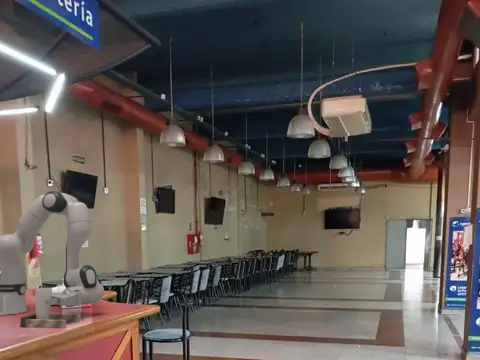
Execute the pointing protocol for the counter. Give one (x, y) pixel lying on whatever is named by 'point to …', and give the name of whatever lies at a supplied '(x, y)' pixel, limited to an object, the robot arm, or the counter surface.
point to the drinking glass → (43, 303)
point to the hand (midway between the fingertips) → (41, 301)
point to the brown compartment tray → (48, 321)
